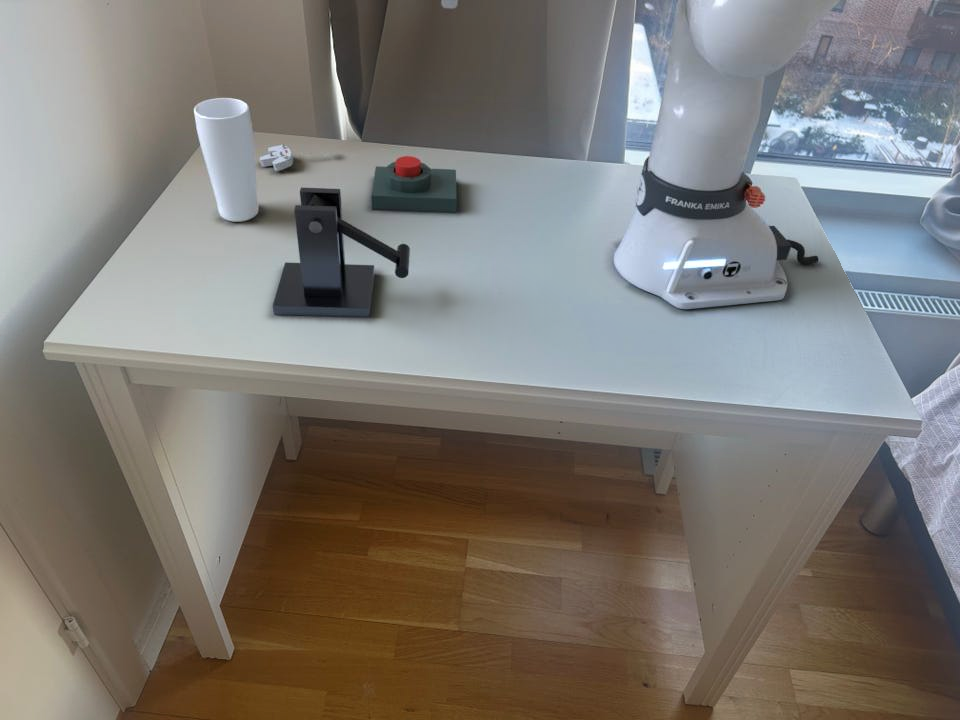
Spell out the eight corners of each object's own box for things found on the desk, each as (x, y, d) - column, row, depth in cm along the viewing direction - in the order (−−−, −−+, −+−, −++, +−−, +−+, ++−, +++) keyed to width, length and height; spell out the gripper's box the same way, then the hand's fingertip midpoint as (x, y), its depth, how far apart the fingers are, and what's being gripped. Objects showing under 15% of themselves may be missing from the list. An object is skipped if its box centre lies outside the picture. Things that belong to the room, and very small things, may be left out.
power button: (420, 167, 108) (421, 156, 107) (420, 179, 106) (420, 168, 105) (396, 166, 108) (396, 155, 107) (395, 178, 105) (394, 166, 104)
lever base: (374, 273, 94) (371, 181, 85) (369, 317, 87) (364, 221, 78) (286, 270, 93) (273, 177, 84) (273, 314, 86) (259, 217, 78)
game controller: (254, 161, 114) (252, 144, 113) (320, 144, 120) (319, 129, 119) (271, 175, 111) (269, 159, 109) (338, 158, 117) (337, 142, 115)
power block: (455, 182, 113) (456, 158, 111) (455, 212, 106) (457, 187, 104) (376, 179, 112) (375, 154, 110) (371, 209, 106) (370, 184, 103)
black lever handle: (403, 259, 90) (414, 245, 89) (401, 282, 86) (413, 268, 85) (305, 203, 85) (315, 188, 83) (299, 226, 81) (309, 210, 80)
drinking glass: (252, 229, 100) (234, 122, 90) (204, 221, 100) (182, 114, 90) (272, 205, 105) (258, 101, 95) (227, 198, 105) (208, 94, 96)
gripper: (490, -123, 67) (480, 36, 76) (481, -153, 83) (474, -19, 92) (420, -127, 67) (419, 33, 76) (424, -157, 82) (423, -22, 91)
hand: (449, 4), depth 84 cm, fingers closed
